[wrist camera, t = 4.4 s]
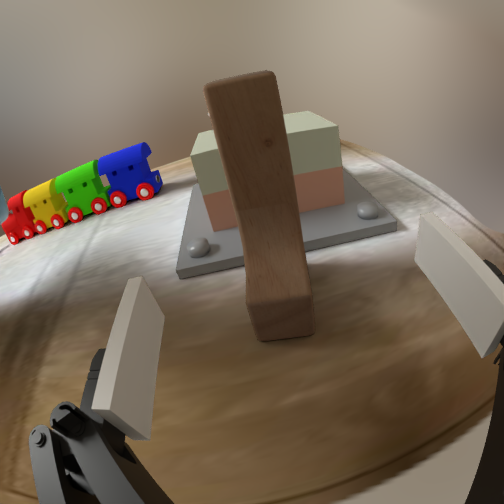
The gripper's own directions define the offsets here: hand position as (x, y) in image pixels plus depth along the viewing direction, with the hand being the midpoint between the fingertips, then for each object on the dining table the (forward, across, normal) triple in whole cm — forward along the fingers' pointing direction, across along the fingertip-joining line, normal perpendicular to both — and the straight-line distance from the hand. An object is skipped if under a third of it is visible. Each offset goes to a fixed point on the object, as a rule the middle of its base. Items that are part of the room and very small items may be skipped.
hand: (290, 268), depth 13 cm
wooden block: (+8, 0, -10) cm, 13 cm away
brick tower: (+26, +2, -10) cm, 28 cm away
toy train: (+44, -40, -10) cm, 60 cm away
